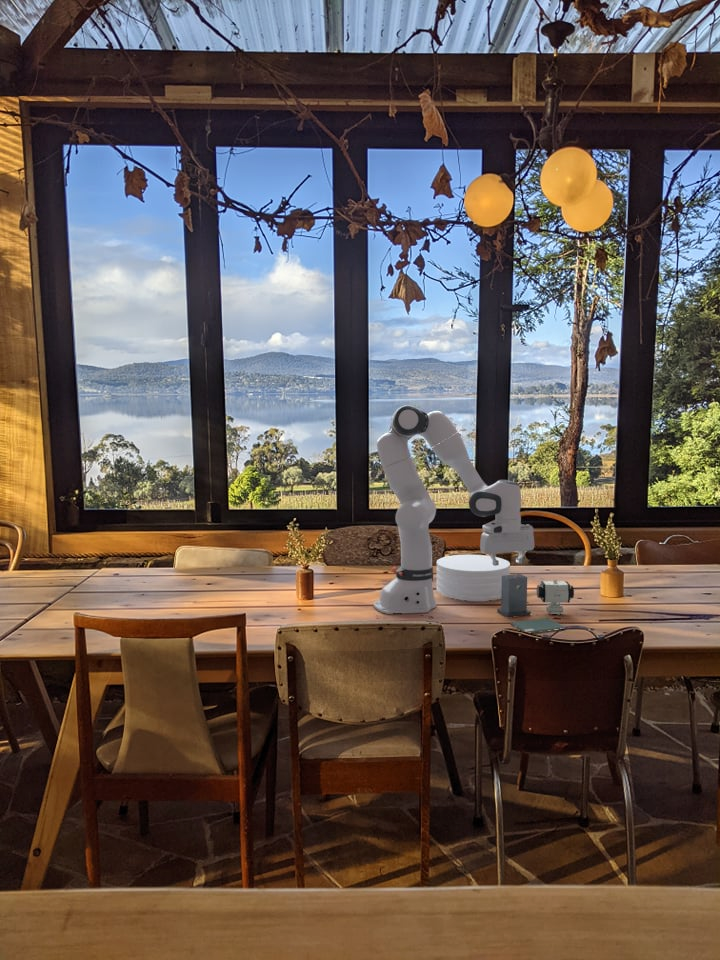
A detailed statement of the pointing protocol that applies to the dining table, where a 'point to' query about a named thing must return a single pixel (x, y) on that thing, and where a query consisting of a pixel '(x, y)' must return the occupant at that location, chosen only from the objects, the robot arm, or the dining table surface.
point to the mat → (537, 625)
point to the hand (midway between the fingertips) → (507, 564)
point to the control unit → (514, 596)
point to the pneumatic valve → (555, 594)
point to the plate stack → (471, 577)
